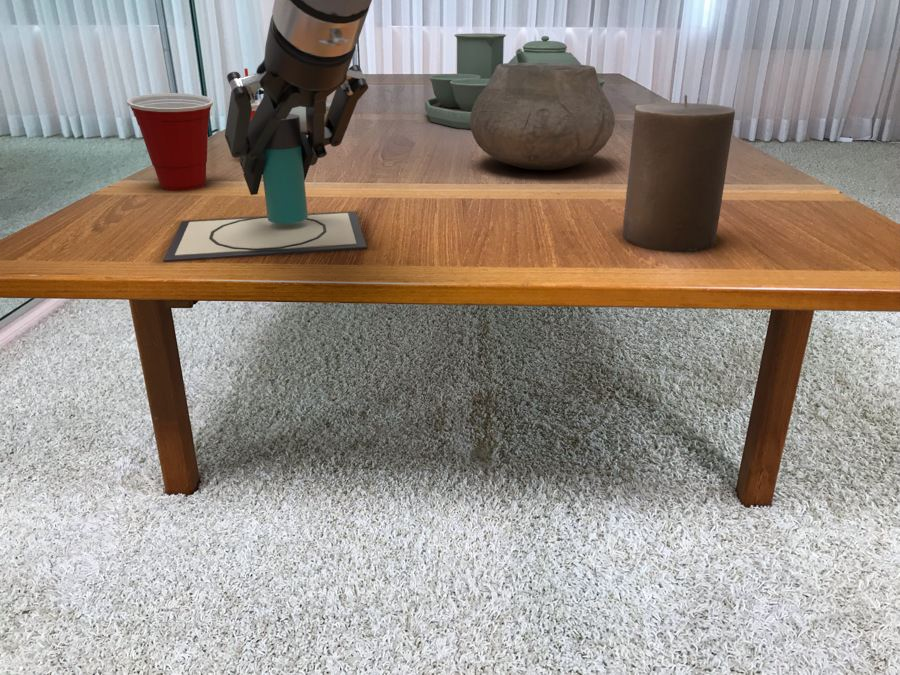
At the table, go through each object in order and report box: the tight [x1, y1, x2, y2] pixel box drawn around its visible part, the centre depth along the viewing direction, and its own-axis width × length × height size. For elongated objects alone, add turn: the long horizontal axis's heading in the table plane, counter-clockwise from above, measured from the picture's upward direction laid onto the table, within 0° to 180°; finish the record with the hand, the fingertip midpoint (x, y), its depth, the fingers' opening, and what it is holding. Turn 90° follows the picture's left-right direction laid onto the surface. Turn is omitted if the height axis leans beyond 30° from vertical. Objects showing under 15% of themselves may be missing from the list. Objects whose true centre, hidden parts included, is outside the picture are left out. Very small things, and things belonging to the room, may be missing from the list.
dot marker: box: [262, 114, 309, 224], centre depth 78 cm, size 5×5×11 cm
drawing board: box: [162, 210, 368, 263], centre depth 78 cm, size 20×14×1 cm
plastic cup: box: [126, 92, 214, 192], centre depth 97 cm, size 11×11×12 cm
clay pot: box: [469, 62, 616, 172], centre depth 107 cm, size 22×21×15 cm
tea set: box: [424, 32, 606, 130], centre depth 152 cm, size 40×40×16 cm
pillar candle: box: [622, 94, 736, 254], centre depth 74 cm, size 10×10×15 cm
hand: (273, 181), depth 82 cm, fingers closed on dot marker, 5 cm apart
